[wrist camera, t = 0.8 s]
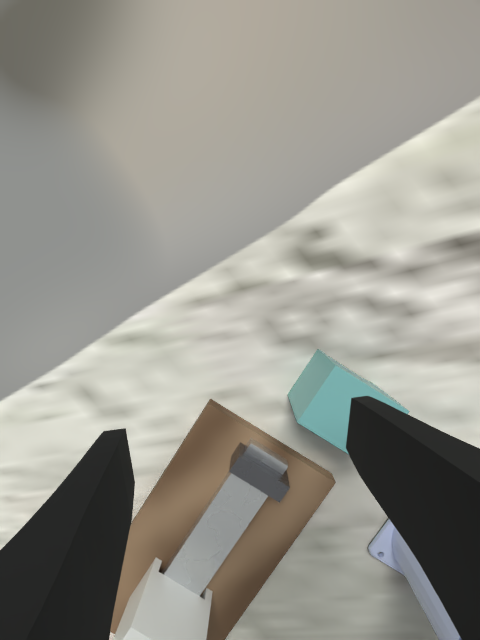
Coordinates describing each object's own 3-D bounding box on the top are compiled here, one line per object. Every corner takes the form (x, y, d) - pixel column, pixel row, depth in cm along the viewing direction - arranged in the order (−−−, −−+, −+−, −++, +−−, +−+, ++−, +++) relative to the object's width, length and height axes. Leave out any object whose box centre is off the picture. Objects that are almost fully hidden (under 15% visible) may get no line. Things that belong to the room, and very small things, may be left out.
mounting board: (331, 473, 26) (335, 482, 25) (197, 665, 29) (194, 681, 28) (210, 398, 26) (208, 403, 25) (84, 597, 28) (76, 611, 27)
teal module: (375, 385, 26) (409, 411, 20) (344, 430, 26) (369, 467, 21) (317, 348, 26) (335, 365, 20) (287, 394, 26) (297, 422, 21)
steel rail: (292, 462, 25) (295, 479, 23) (160, 655, 27) (152, 687, 25) (245, 434, 25) (244, 447, 23) (117, 629, 27) (105, 659, 25)
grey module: (212, 591, 27) (202, 669, 21) (185, 631, 27) (168, 717, 22) (156, 557, 26) (131, 626, 21) (129, 597, 27) (98, 675, 21)
